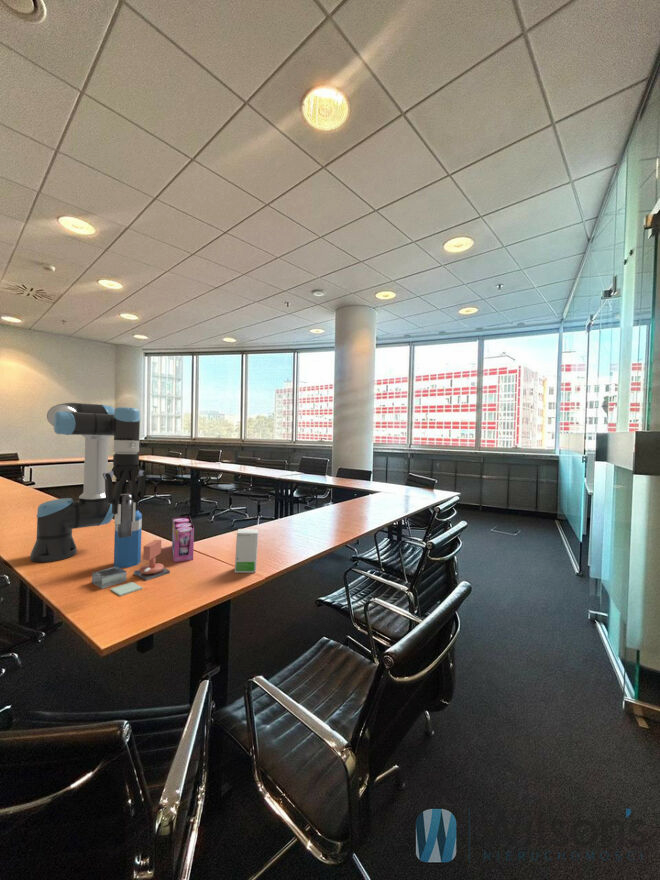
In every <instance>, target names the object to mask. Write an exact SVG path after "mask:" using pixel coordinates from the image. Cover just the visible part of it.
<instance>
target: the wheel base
mask: <svg viewBox="0 0 660 880" xmlns="http://www.w3.org/2000/svg"><path fill="white" fill-rule="evenodd" d="M170 573H171V570H170V569H168V568H166V567H164V569H163V570H162V571H160V572H158V573H154V574H142V573H140V569H138V570H134V571H133V575H134V576H137V577H138V578H140V579H142V580H144V581H149V580H152V579H155V578H158V577H162V576H164V575H168V574H170Z"/></svg>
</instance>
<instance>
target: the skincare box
mask: <svg viewBox="0 0 660 880" xmlns="http://www.w3.org/2000/svg"><path fill="white" fill-rule="evenodd" d="M258 539H259V529H256V528H255V529H252V528H238V529H237V533H236V544H235V559H234V573H235V574H239V573H241V574H243V573H247V574H248V573H249V574H250V573H251V574H252V573H253V574H254V573H256V572H257V561H258V559H257V558H258V545H259V540H258Z"/></svg>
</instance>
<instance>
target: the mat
mask: <svg viewBox="0 0 660 880" xmlns="http://www.w3.org/2000/svg"><path fill="white" fill-rule="evenodd" d="M139 590H140V591H141V590H143V586H141V585H139V584H137V583H135V582H133V581H131V582H127V583H124V584H120V585H117V586H114V587H111V588H110V591H111V592H113V593H114V594H116V595H118V596H119V597H122V596H125V595H129V594H132V593H133V592H137V591H139Z"/></svg>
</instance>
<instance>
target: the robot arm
mask: <svg viewBox="0 0 660 880" xmlns="http://www.w3.org/2000/svg"><path fill="white" fill-rule="evenodd" d="M46 419H47V421H48V423H49V424H50V425H51V426H52V427H53V430H54V431H53V432H54V433H55V434H57V435H65V436H70V435H71V436H73V435H74V436H76V435H77V436H82V437H83V438H84V464H83V465H84V468H83V469H84V470H83V490H82V493H81V494H80V495H79V497H78V500H75V501H74V500H73V498H71V497H69V498H68V497H66V498H58V499H57V498H56V499H53V500H49V501H45V502H42V503H41V504H39V506H38V507H37V512H36V519H37V520H36V540H35V542H34V544H33V546H32V549H31V553H30V559H29V560H30V561H31V562H34V563H49V562H50V563H51V562H56V561H62V560H64V559H68V558H71V557H74V556H75V555H76V554H77V553H78V552H77V550H78V549H77V545H76V542H75V540H74V537H73V529H74V530H75V529H81V528H89V527H91V528H92V527H99V526H103V525H108V524H109V523H111V522H112V520H113V517H114V522H113V523H114V524H115V523H116V524H121V504H118V503H119V499H120V494H121V493H122V490H123V486H124V484H125V482H126V481H127V483H128V488H129V491H130V492H129V494H132V501H133V502H132V522H134V521H135V511H137V510H139V502H141V500H144V499H145V492H146V491H145V489H146V488H145V487H146V478H147V475H148V471H147V470H146V471H145V470H142V469H141V468H140V466H139V464H140V454H139V453H140V432H141V431H140V429H141V428H140V426H141V424H140V423H141V413H140V410H139V409H138V408H136V407H125V406H123V407H121V406H119V407H115V408H114V407H113V406H111V405H107V404H106V405H105V404H97V403H96V404H94V403H93V404H92V403H80V402H64V403H59V404H56V405H54V406H52V407H50V408H49V410H48V411H47V413H46ZM112 437H113V448H112V449H113V451H112V452H114V454H112V455H113V457H112V464H113V467H112V469H111V470H110V471H108V468H109V467H108V463H109V462H108V459H109V439H110V438H112ZM137 475H138V482H137V479H136V476H137ZM114 477H115V478H116V479H115V484H114V489H113V478H114Z"/></svg>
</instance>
